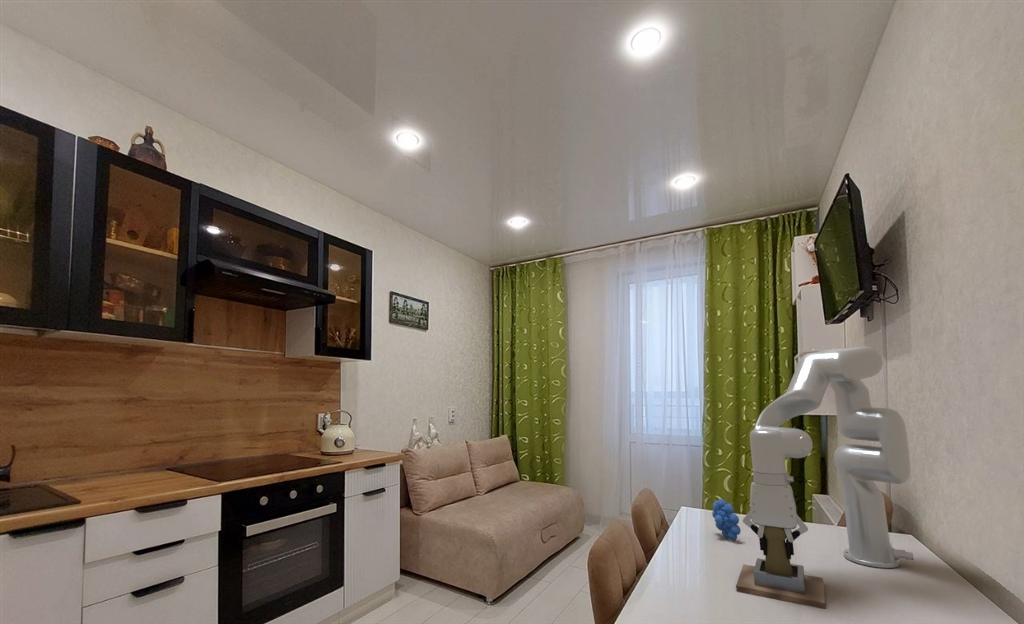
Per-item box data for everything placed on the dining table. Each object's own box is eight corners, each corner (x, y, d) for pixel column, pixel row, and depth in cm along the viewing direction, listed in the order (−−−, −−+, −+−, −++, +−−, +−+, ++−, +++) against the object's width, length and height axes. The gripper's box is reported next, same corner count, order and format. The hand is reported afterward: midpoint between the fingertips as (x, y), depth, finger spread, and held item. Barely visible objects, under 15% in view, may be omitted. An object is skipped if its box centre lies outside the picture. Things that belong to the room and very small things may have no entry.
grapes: (704, 534, 155) (701, 496, 157) (721, 532, 156) (718, 495, 158) (729, 545, 143) (725, 505, 145) (746, 543, 145) (743, 503, 147)
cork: (792, 578, 110) (787, 529, 112) (764, 573, 113) (759, 525, 115) (793, 570, 115) (788, 523, 117) (765, 565, 118) (761, 519, 120)
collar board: (823, 583, 115) (822, 577, 116) (825, 608, 102) (825, 603, 102) (743, 569, 125) (743, 564, 125) (736, 591, 111) (735, 585, 112)
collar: (804, 578, 115) (803, 565, 116) (804, 594, 107) (803, 580, 107) (758, 570, 121) (757, 558, 121) (754, 584, 112) (753, 571, 113)
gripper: (809, 479, 116) (817, 557, 113) (735, 473, 125) (741, 545, 122) (809, 485, 110) (818, 567, 107) (731, 478, 119) (738, 554, 116)
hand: (777, 554), depth 115 cm, fingers closed on cork, 4 cm apart
